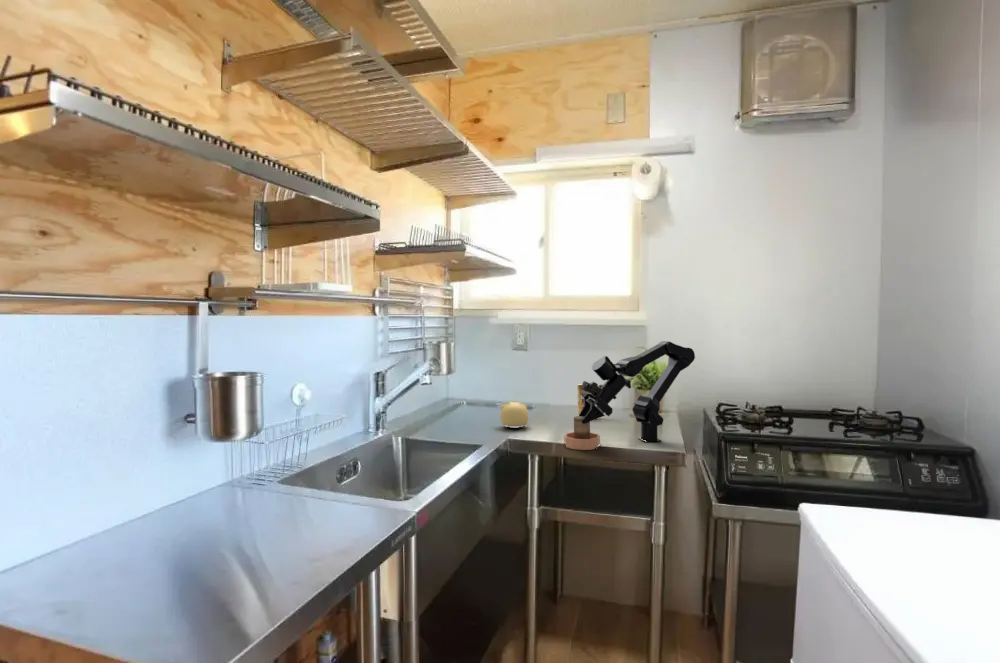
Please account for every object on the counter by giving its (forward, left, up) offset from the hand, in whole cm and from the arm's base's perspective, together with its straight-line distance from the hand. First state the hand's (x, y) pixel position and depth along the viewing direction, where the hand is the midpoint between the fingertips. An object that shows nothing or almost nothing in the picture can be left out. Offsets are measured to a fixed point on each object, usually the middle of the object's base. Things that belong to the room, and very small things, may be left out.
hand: (580, 421), depth 180 cm
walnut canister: (0, -1, -7) cm, 7 cm away
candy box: (+49, -17, -9) cm, 52 cm away
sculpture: (+34, +18, -9) cm, 40 cm away
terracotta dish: (0, -1, -8) cm, 8 cm away
